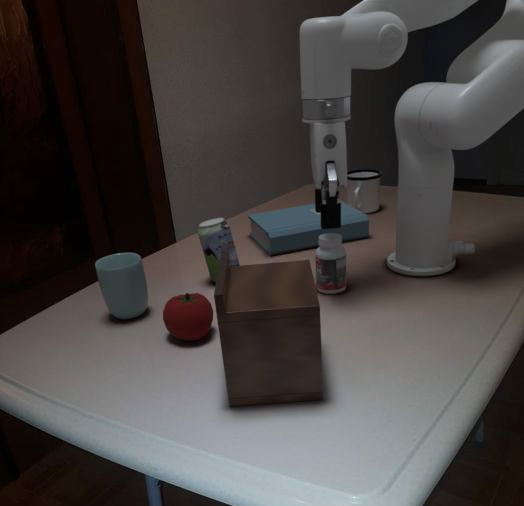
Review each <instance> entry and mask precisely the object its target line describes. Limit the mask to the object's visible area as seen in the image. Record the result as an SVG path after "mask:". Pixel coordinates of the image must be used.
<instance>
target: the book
mask: <svg viewBox="0 0 524 506" xmlns="http://www.w3.org/2000/svg"><path fill="white" fill-rule="evenodd" d="M340 202H341V227H340V228H333V229H322V228H321V213H317V212H316V211H315V203H311V204H304V205H299V206H293V207H287V208H286V207H285V208H281V209H276V210H269V211H263V212H257V213H251V214H248V215H247V218H248V219H249V221H250V222H249V223H250V233H249V237H250V238H251V239H252V240H254V242H255V243H256V244H258V245H259V247H260V248H262V250H264V251H265V253H267V254H268V255H269V256H275V255H280V254H285V253H290V252H291V253H292V252H296V251H301V250H307V249H312V248H319V247H320V246H319V243H318V242H319V236H320V235H322V234H326V233H337V234H340V235H341V236H342V243H343V242H350V241H355V240H361V239H365V238H368V237H369V235H370V219H369V216H368V214H364V213H363V212H361V211H359V210H357V209H355V208H353V207H351V206H349V205H347V204H346V202H344V201H342V200H340Z"/></svg>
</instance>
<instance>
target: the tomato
mask: <svg viewBox="0 0 524 506" xmlns="http://www.w3.org/2000/svg"><path fill="white" fill-rule="evenodd" d="M162 321H163V322H164V327H165V328H166V330H167V331H168V332H169V334H171V335H172V336H174V337H176V338H177V339H180V340H184V341H198V340H200V339H201V340H202V339H203V338H204V337H205V336H206V335H207V334H209V331H210V329H211V327H212V324H213V321H214V309H213V305H212V303H211V302H210V301H209V299H208V298H207V297H206V296H205V295H204V294H201V293H199V292H193V293H189V292H185V294H178V295H174V296H172V297H171V298H170V299H168V300H167V301H166V303H165V305H164V307H163V310H162Z"/></svg>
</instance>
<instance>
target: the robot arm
mask: <svg viewBox="0 0 524 506" xmlns="http://www.w3.org/2000/svg"><path fill="white" fill-rule="evenodd" d="M478 1H479V0H362V1H360V2H359V3H357V4H356V5H354V6H352V7H351V8H350V9H348V10H347V11H345V12H344V13H343V14H341V15H334V16H321V17H320V16H319V17H313V18H307V19H306V20H304V21H303V22H302V23H301V24H300V27H299V63H300V65H299V67H300V93H301V94H300V97H301V122H302V123H305V124H309V143H310V162H311V163H310V164H311V173H312V179H313V182H314V185H315V189H314V204H315V211H316V212H317V213H321V228H322V229H333V228H340V227H341V202H340V201H341V193H340V187H342V188H343V189H346V186H347V172H348V157H347V156H348V153H347V152H348V150H347V131H346V122H347V121H350V120H351V118H352V70H382V69H386V68H389V67H390V66H392V65H395V63H396V62H398V61H399V60H400V59H401V57H402V56H403V54H405V51H406V49H407V45H408V39H409V37H408V33H410V32H414V31H417V30H421V29H425V28H429V27H433V26H436V25H439V24H442V23H444V22H446V21H449V20H452V19H454V18H455V17H457V16H458V15H460V14H461V13H463V12H464V11H466V10H467V9H469V7H471V6H472V5H473V4H475V3H477V2H478ZM445 79H446V80H445V81H446V82H439V81H430V82H429V81H428V82H427V81H425V82H422V83H421V82H420V83H417V84H415V85H413V86H411V87H409V88H408V89H407V90H406V91H404V92H403V94H402V95H401V96H400V98H399V100H398V101H397V103H396V106H395V110H394V130H395V137H396V145H397V155H398V156H397V157H398V158H397V159H398V175H397V178H398V179H397V196H396V198H397V200H396V201H397V202H396V224H395V225H396V226H395V251H394V252H392V253H390V254H389V255H388V256H387V257H386V265H387V267H388V269H390V270H391V271H393V272H395V273H397V274H401V275H406V276H412V277H430V276H438V275H442V274H445V273H447V272H450V271H452V270H453V269H454V268H455V267H456V257H457V256H458V255H470V254H474V253H475V248H476V247H475V243H474V242H471V243H464V241H463V240H458V241H452V240H450V228H451V214H452V203H453V202H452V201H453V191H454V180H455V159H454V155H453V151H452V150H456V151H464V150H465V151H466V150H467V151H468V150H471V149H473V148H476V147H478V146H480V145H481V144H483V143H485V142H486V141H487V140H488V139H489V138H491V137H492V136H493V135H495V133H496V132H498V131H499V130H501V128H502V127H504V126H505V125H506V124H507V123H508V122H509V121H510V120H512V119H514V117H516V115H518V114H519V113H520V112H522V111H523V109H524V0H506V2H505V7H504V10H503V13H502V16H501V17H500V18H499V20H497V22H496V23H494V25H493V26H492V27H491V28H489V29H488V30H487V31H485V32H484V33H483V34H482V35H481V36H480V37H479V38H478V39H476V40H475V41H474V42H472V43H471V44H470V45H469V46H468V47H466V48H464V50H463V51H462V52H460V53H459V55H457V56H456V57H455V59H454V60H453V61H452V63H451V64H450V66H449V68H448V69H447V72H446V78H445Z"/></svg>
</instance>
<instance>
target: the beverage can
mask: <svg viewBox="0 0 524 506" xmlns="http://www.w3.org/2000/svg"><path fill="white" fill-rule="evenodd" d="M197 235H198V239H199V243H200V245H201V249H202V253H203V256H204V259H205V263H206V267H207V269H208V273H209V277H210V280H211V282H213V283H216V280H217V274H218V268H219V262H220V256H221V251H222V250H229V258H230V266H241V265H240V261H239V257H238V252H237V249H236V245H235V241H234V238H233V234H232V230H231V226H230V224H229V222H227V221H226V219H225V218H224V217H215V218H211V219H208V220H205V221H203V222H200V223H199V224H198V231H197Z"/></svg>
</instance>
